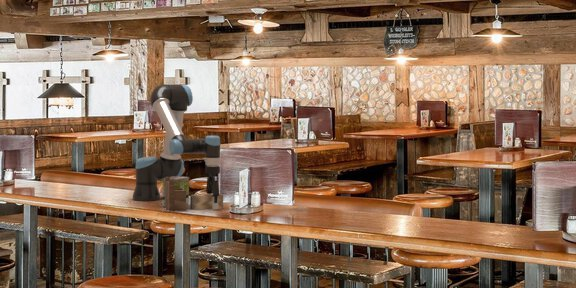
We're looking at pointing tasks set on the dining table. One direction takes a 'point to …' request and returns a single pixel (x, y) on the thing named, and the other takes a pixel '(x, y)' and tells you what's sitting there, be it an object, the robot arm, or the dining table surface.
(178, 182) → the tea box
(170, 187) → the brown box
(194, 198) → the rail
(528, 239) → the dining table surface
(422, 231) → the dining table surface
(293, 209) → the dining table surface
